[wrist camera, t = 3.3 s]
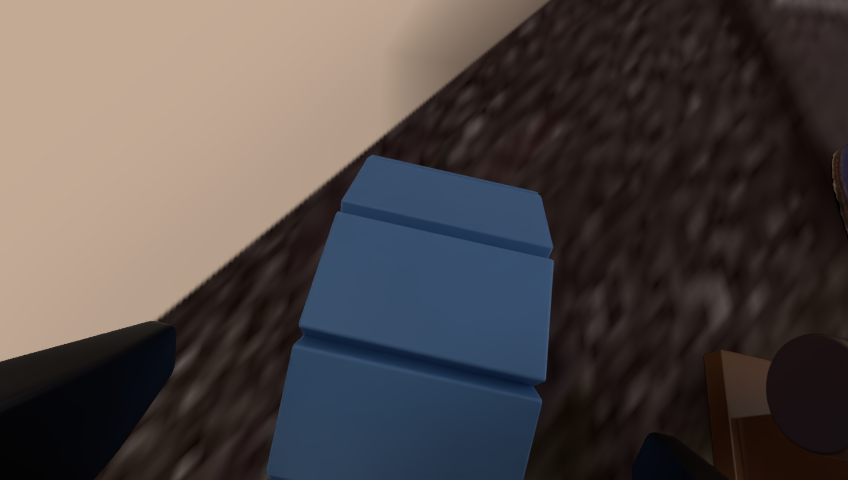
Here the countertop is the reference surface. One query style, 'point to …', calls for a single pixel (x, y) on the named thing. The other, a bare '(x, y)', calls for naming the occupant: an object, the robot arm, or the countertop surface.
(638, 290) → the countertop surface
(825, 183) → the countertop surface
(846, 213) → the flask
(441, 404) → the blue toy wheel
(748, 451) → the tape stand
